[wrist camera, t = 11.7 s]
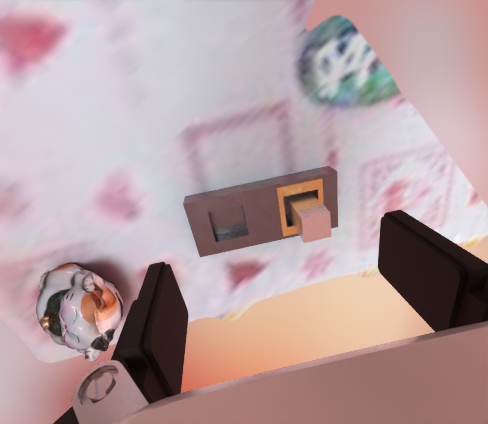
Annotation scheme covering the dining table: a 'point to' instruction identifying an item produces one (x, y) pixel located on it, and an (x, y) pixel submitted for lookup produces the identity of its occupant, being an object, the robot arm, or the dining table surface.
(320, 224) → the steel peg
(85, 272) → the lucky cat figurine
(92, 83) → the dining table surface
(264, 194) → the hole rail
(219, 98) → the dining table surface
